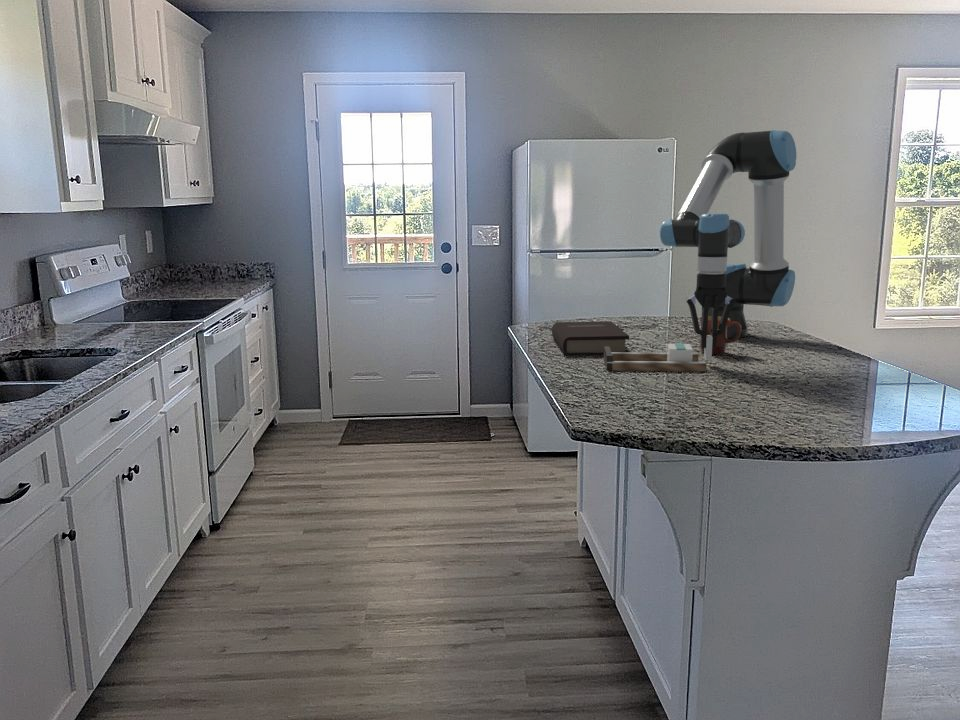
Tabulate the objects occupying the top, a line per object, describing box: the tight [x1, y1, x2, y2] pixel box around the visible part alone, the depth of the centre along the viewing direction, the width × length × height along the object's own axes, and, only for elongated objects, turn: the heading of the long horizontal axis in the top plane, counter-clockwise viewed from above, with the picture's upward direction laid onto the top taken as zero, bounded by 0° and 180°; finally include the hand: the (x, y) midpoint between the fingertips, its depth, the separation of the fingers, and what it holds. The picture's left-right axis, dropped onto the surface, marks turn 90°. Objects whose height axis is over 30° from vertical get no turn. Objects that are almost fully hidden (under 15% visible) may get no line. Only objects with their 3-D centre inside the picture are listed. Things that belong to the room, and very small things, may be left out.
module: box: [666, 342, 694, 362], centre depth 214 cm, size 6×8×6 cm
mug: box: [698, 316, 741, 356], centre depth 230 cm, size 12×9×10 cm
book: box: [551, 320, 630, 357], centre depth 244 cm, size 28×20×6 cm
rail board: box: [603, 346, 708, 372], centre depth 215 cm, size 26×13×4 cm, turn 85°
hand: (707, 359), depth 214 cm, fingers closed
